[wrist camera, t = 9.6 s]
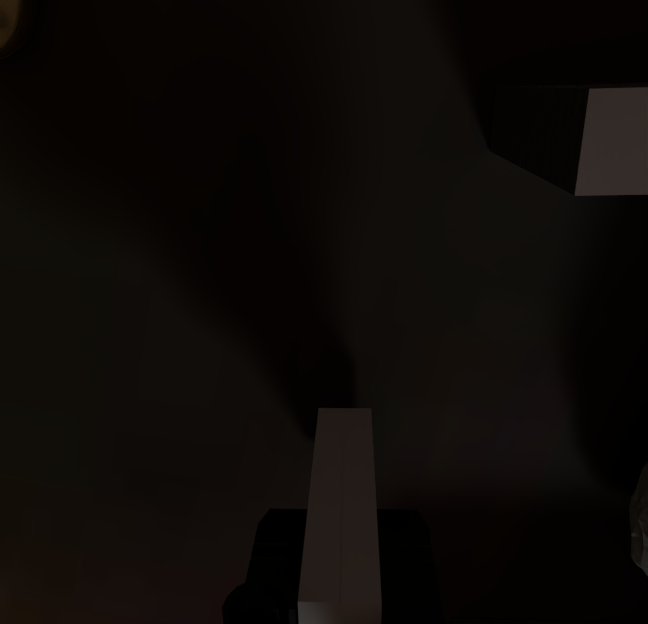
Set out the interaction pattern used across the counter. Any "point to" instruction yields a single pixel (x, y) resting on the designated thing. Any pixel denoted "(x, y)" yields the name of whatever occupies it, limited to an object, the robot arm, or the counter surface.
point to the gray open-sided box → (574, 151)
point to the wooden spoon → (17, 24)
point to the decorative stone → (640, 521)
